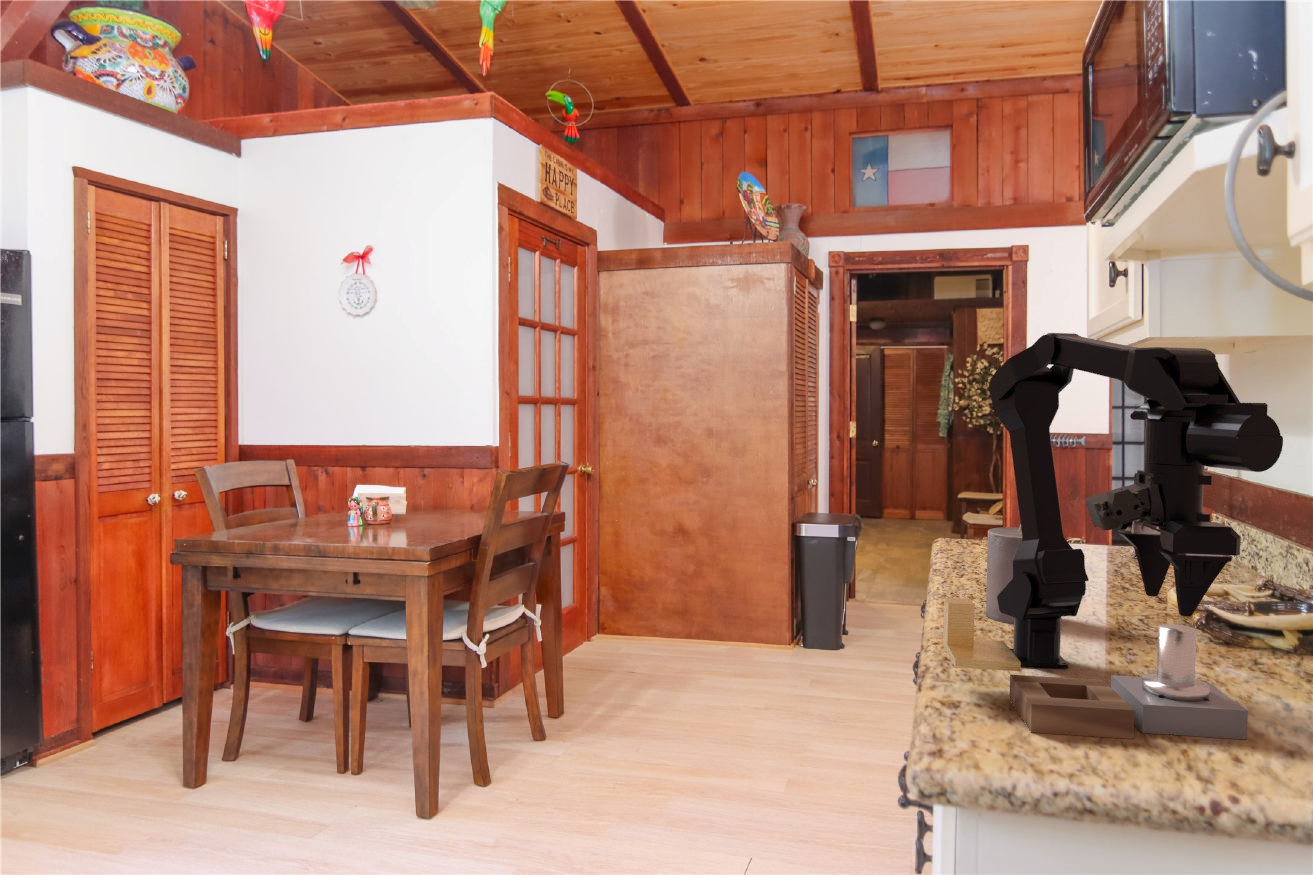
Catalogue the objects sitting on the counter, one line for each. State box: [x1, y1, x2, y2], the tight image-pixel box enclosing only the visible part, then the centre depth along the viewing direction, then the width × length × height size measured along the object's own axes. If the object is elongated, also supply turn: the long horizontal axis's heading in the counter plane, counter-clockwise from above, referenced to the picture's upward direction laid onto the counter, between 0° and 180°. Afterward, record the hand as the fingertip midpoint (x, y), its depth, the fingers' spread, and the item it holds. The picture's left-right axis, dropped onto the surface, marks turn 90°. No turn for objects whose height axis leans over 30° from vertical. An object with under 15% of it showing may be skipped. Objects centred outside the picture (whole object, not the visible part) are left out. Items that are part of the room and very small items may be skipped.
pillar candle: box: [985, 523, 1022, 625], centre depth 143 cm, size 10×10×15 cm
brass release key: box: [942, 597, 1022, 672], centre depth 106 cm, size 9×7×6 cm
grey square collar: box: [1110, 674, 1249, 740], centre depth 99 cm, size 10×10×3 cm
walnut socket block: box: [1008, 674, 1135, 740], centre depth 99 cm, size 10×10×3 cm
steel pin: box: [1141, 623, 1210, 701], centre depth 99 cm, size 6×6×10 cm
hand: (1167, 605), depth 99 cm, fingers open, 9 cm apart
